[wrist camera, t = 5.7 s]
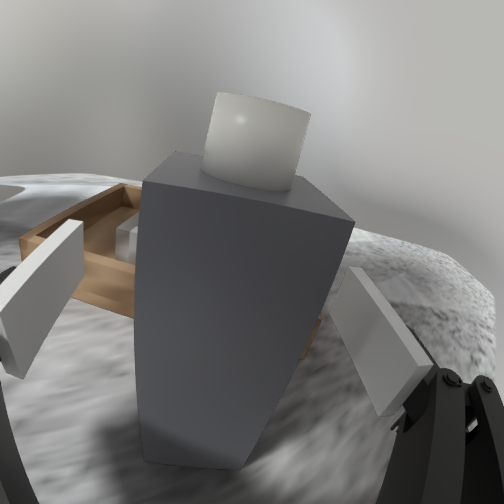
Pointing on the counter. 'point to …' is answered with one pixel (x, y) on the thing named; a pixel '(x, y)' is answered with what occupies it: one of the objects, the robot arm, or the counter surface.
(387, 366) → the robot arm
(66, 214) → the walnut box
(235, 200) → the charcoal bottle
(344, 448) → the counter surface
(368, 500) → the counter surface
